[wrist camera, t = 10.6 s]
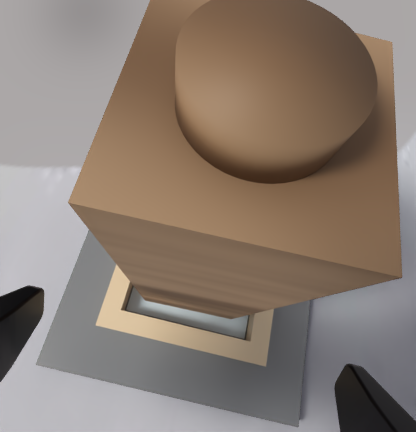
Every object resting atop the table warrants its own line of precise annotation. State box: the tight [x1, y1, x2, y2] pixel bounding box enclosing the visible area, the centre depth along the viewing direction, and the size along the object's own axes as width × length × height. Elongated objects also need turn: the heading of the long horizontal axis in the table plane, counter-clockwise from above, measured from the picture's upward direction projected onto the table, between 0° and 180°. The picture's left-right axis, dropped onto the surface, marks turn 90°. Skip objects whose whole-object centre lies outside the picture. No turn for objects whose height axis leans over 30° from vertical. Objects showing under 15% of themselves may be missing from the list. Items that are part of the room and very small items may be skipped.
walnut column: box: [68, 0, 402, 319], centre depth 11 cm, size 5×5×15 cm
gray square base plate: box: [36, 230, 310, 427], centre depth 18 cm, size 14×14×2 cm
